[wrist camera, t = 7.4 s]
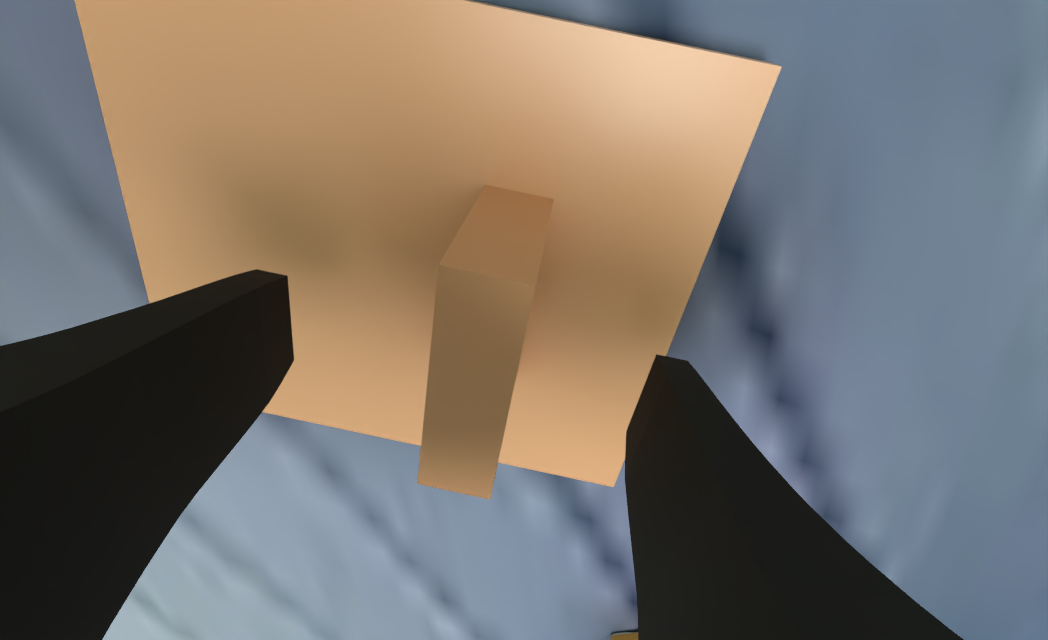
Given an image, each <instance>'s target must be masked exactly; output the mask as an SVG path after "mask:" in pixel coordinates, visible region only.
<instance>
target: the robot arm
mask: <svg viewBox="0 0 1048 640" xmlns="http://www.w3.org/2000/svg"><path fill="white" fill-rule="evenodd" d="M293 362H294V351H293V338H292V326H291V313H290V300H289V287H288V276H286V275H282V274H277V273H272V272H268V271H263V270H258V269H256V270H251V271H247V272H243V273H240V274H236V275H233V276H230V277H227V278H224V279H221V280H217V281H215V282H212V283H209V284H206V285H203V286H200V287H197V288H194V289H191V290H188V291H185V292H182V293H179V294H176V295H173V296H170V297H168V298H165V299H162V300H159V301H156V302H153V303H150V304H147V305H144V306H141V307H138V308H135V309H131V310H128V311H125V312H122V313H118V314H115V315H112V316H109V317H105V318H102V319H99V320H96V321H92V322H89V323H86V324H83V325H79V326H76V327H73V328H69V329H66V330H62V331H59V332H55V333H51V334H47V335H44V336H40V337H36V338H32V339H28V340H24V341H20V342H16V343H12V344H7V345H3V346H0V640H102V639H103V637H104V635H105V634H106V632H107V630H108V628H109V627H110V625H111V623H112V622H113V620H114V618H115V617H116V615H117V614H118V612H119V610H120V609H121V607H122V605H123V604H124V602H125V601H126V599H127V597H128V596H129V594H130V592H131V591H132V589H133V588H134V586H135V584H136V583H137V581H138V579H139V578H140V576H141V575H142V573H143V571H144V570H145V568H146V567H147V565H148V563H149V562H150V560H151V559H152V557H153V556H154V554H155V553H156V551H157V550H158V548H159V547H160V545H161V544H162V542H163V540H164V539H165V537H166V536H167V534H168V533H169V531H170V530H171V528H172V527H173V525H174V524H175V522H176V521H177V519H178V518H179V516H180V515H181V514H182V512H183V511H184V509H185V508H186V507H187V505H188V504H189V503H190V501H191V500H192V499H193V497H194V496H195V495H196V493H197V492H198V491H199V490H200V489H201V487H202V486H203V485H204V484H205V482H206V481H207V480H208V479H209V477H210V476H211V475H212V474H213V472H214V471H215V470H216V469H217V467H218V466H219V465H220V464H221V463H222V461H223V460H224V459H225V458H226V456H227V455H228V454H229V453H230V451H231V450H232V449H233V448H234V446H235V445H236V444H237V443H238V442H239V440H240V439H241V438H242V437H243V435H244V434H245V433H246V432H247V430H248V429H249V428H250V427H251V425H252V424H253V423H254V421H255V420H256V419H257V418H258V416H259V415H260V414H261V413H262V411H263V410H264V409H265V407H266V406H267V405H268V404H269V402H270V401H271V399H272V397H273V396H274V394H275V393H276V391H277V389H278V388H279V386H280V384H281V383H282V381H283V379H284V378H285V376H286V374H287V372H288V370H289V369H290V367H291V365H292V363H293ZM625 484H626V495H627V505H628V515H629V525H630V534H631V543H632V553H633V562H634V572H635V581H636V591H637V607H638V640H963V639H962V638H961V637H959V636H958V635H957V634H955V633H954V632H953V631H952V630H950V629H949V628H948V627H947V626H945V625H944V624H943V623H942V622H940V621H939V620H938V619H937V618H935V617H934V616H933V615H932V614H930V613H929V612H928V611H926V610H925V609H924V608H923V607H921V606H920V605H919V604H918V603H917V602H915V601H914V600H913V599H912V598H911V597H909V596H908V595H907V594H906V593H905V592H904V591H902V590H901V589H900V588H899V587H898V586H896V585H895V584H894V583H893V582H892V581H891V580H889V579H888V578H887V577H886V576H885V575H884V574H882V573H881V572H880V571H879V570H878V569H877V568H875V567H874V566H873V565H872V564H871V563H870V562H868V561H867V560H866V559H865V558H864V557H863V556H862V555H861V554H860V553H858V552H857V551H856V550H855V549H854V548H853V547H852V546H851V545H850V544H849V543H847V542H846V541H845V540H844V539H843V538H842V537H841V536H840V535H839V534H838V533H837V532H836V531H835V530H834V529H833V528H832V527H831V526H830V525H829V524H828V523H827V522H826V521H825V520H824V519H823V518H822V517H821V516H820V515H818V514H817V513H816V512H815V511H814V510H813V509H812V508H811V507H810V506H809V505H808V504H807V503H806V502H805V501H804V500H803V498H802V497H801V496H800V495H799V494H798V493H797V492H796V491H795V490H794V489H793V488H792V487H791V486H790V485H789V484H788V483H787V481H786V480H785V479H784V478H783V477H782V476H781V475H780V474H779V473H778V471H777V470H776V469H775V468H774V467H773V466H772V465H771V464H770V463H769V461H768V460H767V459H766V458H765V457H764V456H763V454H762V453H761V452H760V451H759V450H758V449H757V447H756V446H755V445H754V444H753V443H752V441H751V440H750V439H749V438H748V437H747V435H746V434H745V433H744V432H743V430H742V429H741V428H740V427H739V425H738V424H737V423H736V422H735V421H734V419H733V418H732V417H731V415H730V414H729V413H728V412H727V410H726V409H725V408H724V406H723V405H722V404H721V403H720V401H719V400H718V399H717V397H716V396H715V395H714V393H713V392H712V391H711V390H710V388H709V387H708V386H707V384H706V383H705V382H704V380H703V379H702V378H701V377H700V375H699V374H698V373H697V371H696V370H695V369H694V368H693V367H692V365H691V364H690V363H689V362H688V361H685V360H681V359H676V358H671V357H666V356H662V355H657V354H656V356H655V359H654V361H653V364H652V367H651V369H650V372H649V374H648V377H647V379H646V382H645V385H644V387H643V390H642V392H641V395H640V397H639V400H638V403H637V405H636V408H635V410H634V413H633V415H632V418H631V421H630V423H629V426H628V428H627V431H626V452H625Z"/></svg>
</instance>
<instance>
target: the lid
mask: <svg viewBox="0 0 1048 640" xmlns="http://www.w3.org/2000/svg"><path fill="white" fill-rule="evenodd" d="M74 1H75V5H76V9H77V13H78V17H79V21H80V25H81V29H82V33H83V37H84V41H85V45H86V49H87V53H88V57H89V61H90V65H91V69H92V73H93V77H94V81H95V85H96V89H97V94H98V98H99V102H100V106H101V110H102V114H103V118H104V122H105V126H106V130H107V134H108V138H109V142H110V146H111V150H112V154H113V158H114V162H115V166H116V170H117V174H118V178H119V182H120V186H121V190H122V194H123V198H124V203H125V207H126V211H127V215H128V219H129V223H130V227H131V231H132V235H133V239H134V243H135V247H136V251H137V255H138V259H139V263H140V267H141V271H142V275H143V279H144V283H145V287H146V291H147V295H148V299H149V303H153V302H156V301H159V300H162V299H165V298H168V297H170V296H173V295H176V294H179V293H182V292H185V291H188V290H191V289H194V288H197V287H200V286H203V285H206V284H209V283H212V282H215V281H217V280H221V279H224V278H227V277H230V276H233V275H236V274H240V273H243V272H247V271H251V270H256V269H258V270H263V271H268V272H272V273H277V274H282V275H286V276H288V287H289V300H290V313H291V326H292V338H293V351H294V362H293V363H292V365H291V367H290V369H289V370H288V372H287V374H286V376H285V378H284V379H283V381H282V383H281V384H280V386H279V388H278V389H277V391H276V393H275V394H274V396H273V397H272V399H271V401H270V402H269V404H268V405H267V406H266V407H265V409H264V410H263V411H262V412H265V413H269V414H274V415H279V416H284V417H288V418H293V419H298V420H302V421H307V422H312V423H316V424H321V425H326V426H330V427H335V428H340V429H344V430H349V431H354V432H358V433H363V434H368V435H372V436H377V437H382V438H386V439H391V440H396V441H400V442H405V443H410V444H414V445H419V446H421V452H420V463H419V473H418V483H417V484H421V485H425V486H430V487H435V488H439V489H444V490H449V491H453V492H458V493H463V494H467V495H472V496H477V497H481V498H486V499H490V497H491V493H492V488H493V483H494V479H495V474H496V469H497V464H498V462H499V463H503V464H508V465H513V466H517V467H522V468H527V469H531V470H536V471H541V472H545V473H550V474H555V475H559V476H564V477H569V478H573V479H578V480H583V481H587V482H592V483H597V484H601V485H606V486H611V487H614V485H615V482H616V480H617V477H618V475H619V472H620V470H621V467H622V465H623V462H624V460H625V452H626V431H627V428H628V426H629V423H630V421H631V418H632V415H633V413H634V410H635V408H636V405H637V403H638V400H639V397H640V395H641V392H642V390H643V387H644V385H645V382H646V379H647V377H648V374H649V372H650V369H651V367H652V364H653V361H654V359H655V356H656V354H657V355H662V356H666V355H667V352H668V350H669V347H670V345H671V342H672V340H673V337H674V335H675V332H676V330H677V327H678V325H679V322H680V320H681V317H682V315H683V312H684V310H685V307H686V305H687V302H688V300H689V297H690V295H691V292H692V290H693V287H694V285H695V282H696V280H697V277H698V275H699V272H700V270H701V267H702V265H703V262H704V260H705V257H706V255H707V252H708V250H709V247H710V245H711V242H712V240H713V237H714V235H715V232H716V230H717V227H718V225H719V222H720V220H721V217H722V215H723V212H724V210H725V207H726V205H727V202H728V200H729V197H730V195H731V192H732V190H733V187H734V185H735V182H736V180H737V177H738V175H739V172H740V170H741V167H742V165H743V162H744V160H745V157H746V155H747V152H748V150H749V147H750V145H751V142H752V140H753V137H754V135H755V132H756V130H757V127H758V125H759V122H760V120H761V117H762V115H763V112H764V110H765V107H766V105H767V103H768V100H769V98H770V95H771V93H772V90H773V88H774V85H775V83H776V80H777V78H778V75H779V73H780V70H781V68H782V66H779V65H776V64H773V63H771V62H767V61H762V60H757V59H752V58H748V57H743V56H738V55H733V54H728V53H724V52H719V51H714V50H709V49H704V48H700V47H695V46H690V45H685V44H680V43H676V42H671V41H666V40H661V39H656V38H652V37H647V36H642V35H637V34H632V33H628V32H623V31H618V30H613V29H608V28H604V27H599V26H594V25H589V24H584V23H580V22H575V21H570V20H565V19H560V18H556V17H551V16H546V15H541V14H536V13H532V12H527V11H522V10H517V9H512V8H508V7H503V6H498V5H493V4H488V3H484V2H479V1H474V0H74Z"/></svg>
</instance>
